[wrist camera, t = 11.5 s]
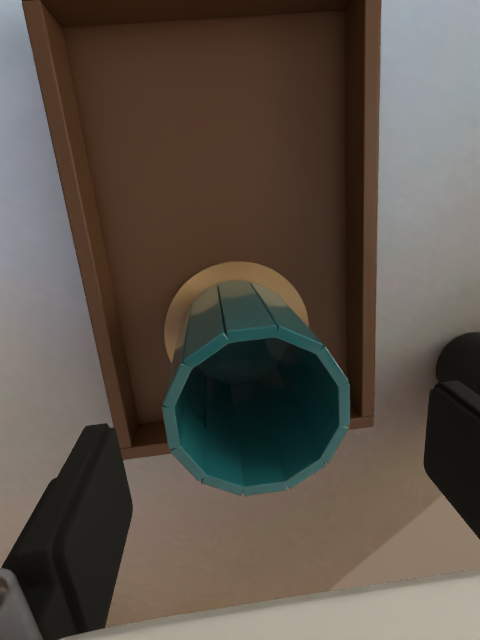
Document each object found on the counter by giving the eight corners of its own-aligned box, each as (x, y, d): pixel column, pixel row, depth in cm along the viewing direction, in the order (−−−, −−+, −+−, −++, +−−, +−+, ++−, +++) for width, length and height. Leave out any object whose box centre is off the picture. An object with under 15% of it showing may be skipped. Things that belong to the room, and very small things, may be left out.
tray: (46, 15, 18) (15, -24, 15) (354, -3, 19) (382, -43, 16) (130, 431, 25) (120, 460, 22) (354, 402, 26) (374, 426, 23)
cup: (173, 286, 21) (149, 339, 12) (289, 274, 22) (350, 317, 13) (189, 392, 23) (178, 506, 14) (295, 378, 24) (350, 481, 15)
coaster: (153, 269, 21) (153, 269, 21) (305, 253, 22) (306, 254, 21) (175, 405, 24) (174, 408, 23) (310, 389, 24) (311, 391, 24)
